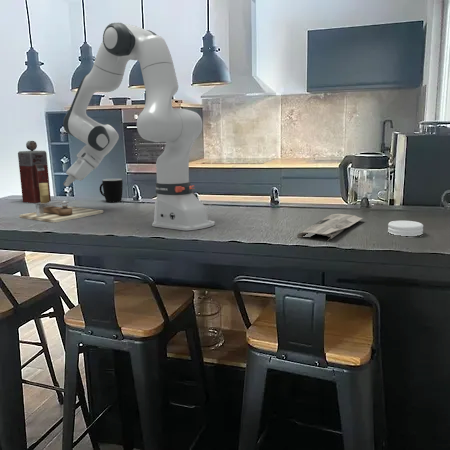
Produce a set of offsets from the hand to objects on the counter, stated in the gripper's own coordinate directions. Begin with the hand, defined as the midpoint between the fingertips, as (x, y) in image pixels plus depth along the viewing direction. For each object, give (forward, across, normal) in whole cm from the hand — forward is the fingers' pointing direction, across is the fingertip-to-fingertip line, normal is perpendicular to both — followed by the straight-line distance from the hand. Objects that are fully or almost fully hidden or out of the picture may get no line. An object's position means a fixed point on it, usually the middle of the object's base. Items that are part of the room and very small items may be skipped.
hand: (64, 185), depth 188 cm
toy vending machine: (+12, -40, +2) cm, 42 cm away
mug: (-9, -21, +24) cm, 33 cm away
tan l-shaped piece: (+10, +6, +3) cm, 12 cm away
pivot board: (+10, +4, +6) cm, 12 cm away
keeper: (+11, +9, +3) cm, 14 cm away
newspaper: (-39, +79, +59) cm, 106 cm away
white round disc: (-48, +96, +69) cm, 128 cm away
